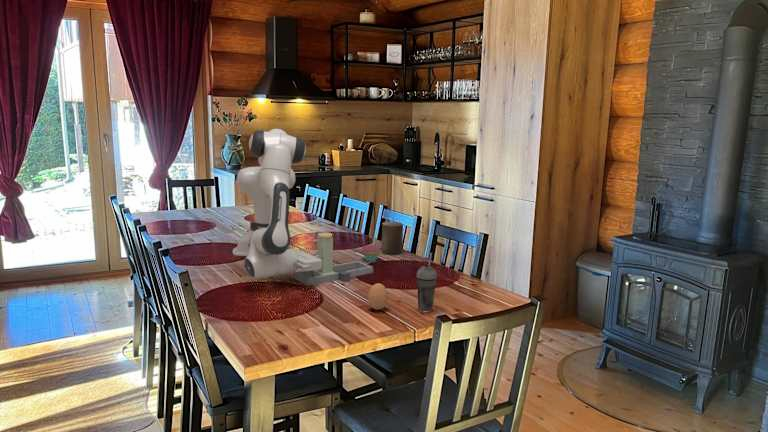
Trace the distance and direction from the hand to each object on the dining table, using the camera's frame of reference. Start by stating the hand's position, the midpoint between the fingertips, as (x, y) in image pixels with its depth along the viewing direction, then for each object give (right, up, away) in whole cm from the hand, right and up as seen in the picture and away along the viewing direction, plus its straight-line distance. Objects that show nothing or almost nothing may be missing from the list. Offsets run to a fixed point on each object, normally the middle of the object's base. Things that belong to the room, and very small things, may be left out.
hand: (319, 256), depth 222 cm
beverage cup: (+39, -16, -29) cm, 51 cm away
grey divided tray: (+5, -8, +6) cm, 11 cm away
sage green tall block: (+2, -8, +3) cm, 9 cm away
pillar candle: (+29, -1, +44) cm, 52 cm away
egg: (+23, -16, -30) cm, 41 cm away
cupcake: (+19, -4, +29) cm, 35 cm away
